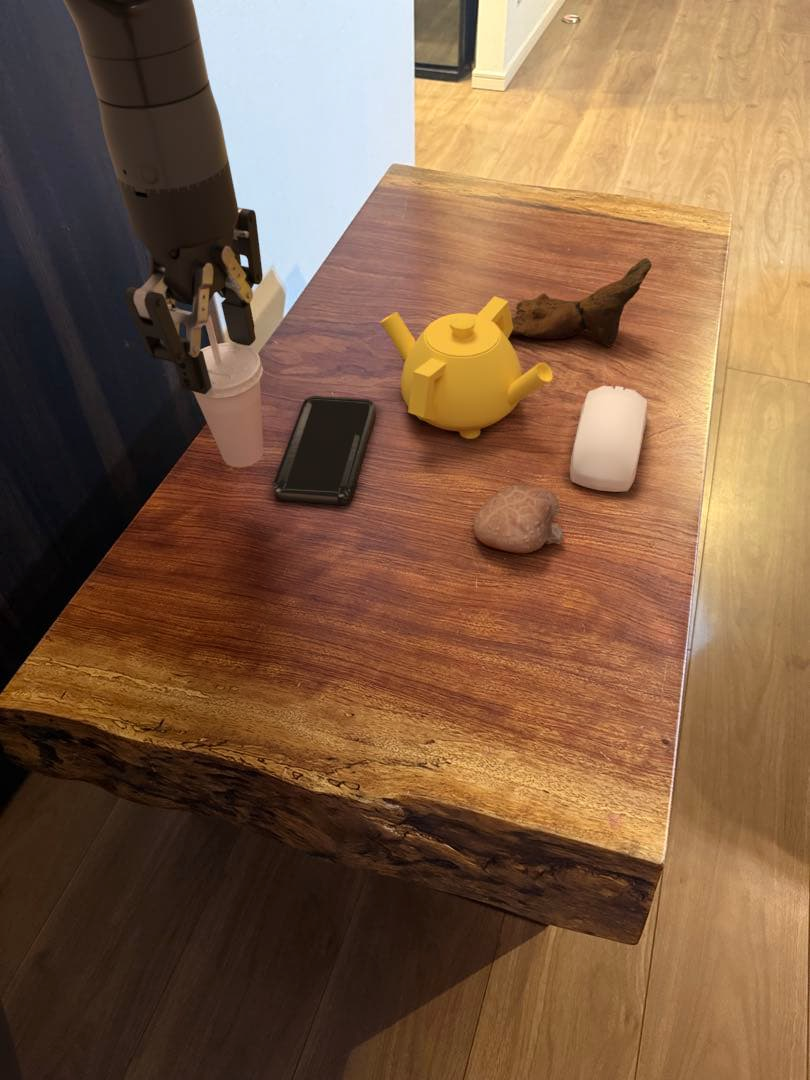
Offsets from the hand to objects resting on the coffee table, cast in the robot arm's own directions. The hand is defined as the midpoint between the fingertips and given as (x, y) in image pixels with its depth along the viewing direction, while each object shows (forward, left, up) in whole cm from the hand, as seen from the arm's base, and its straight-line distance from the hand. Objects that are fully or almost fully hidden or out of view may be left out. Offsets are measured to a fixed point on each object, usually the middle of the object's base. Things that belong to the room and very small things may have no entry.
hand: (221, 364), depth 69 cm
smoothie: (0, 0, -10) cm, 10 cm away
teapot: (+25, 0, -18) cm, 31 cm away
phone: (+10, +3, -18) cm, 20 cm away
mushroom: (+18, -18, -18) cm, 31 cm away
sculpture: (+43, +2, -18) cm, 47 cm away
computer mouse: (+32, -15, -18) cm, 40 cm away
